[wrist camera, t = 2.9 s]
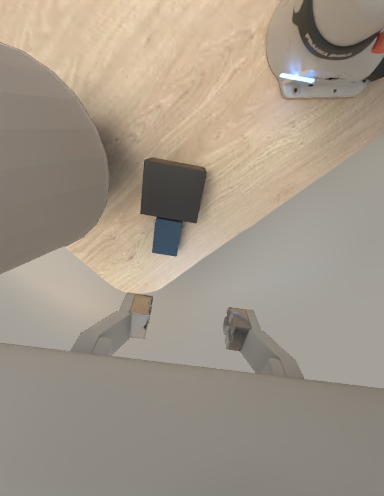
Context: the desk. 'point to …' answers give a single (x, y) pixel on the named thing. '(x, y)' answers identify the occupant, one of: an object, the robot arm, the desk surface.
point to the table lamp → (45, 162)
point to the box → (166, 236)
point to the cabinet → (172, 189)
